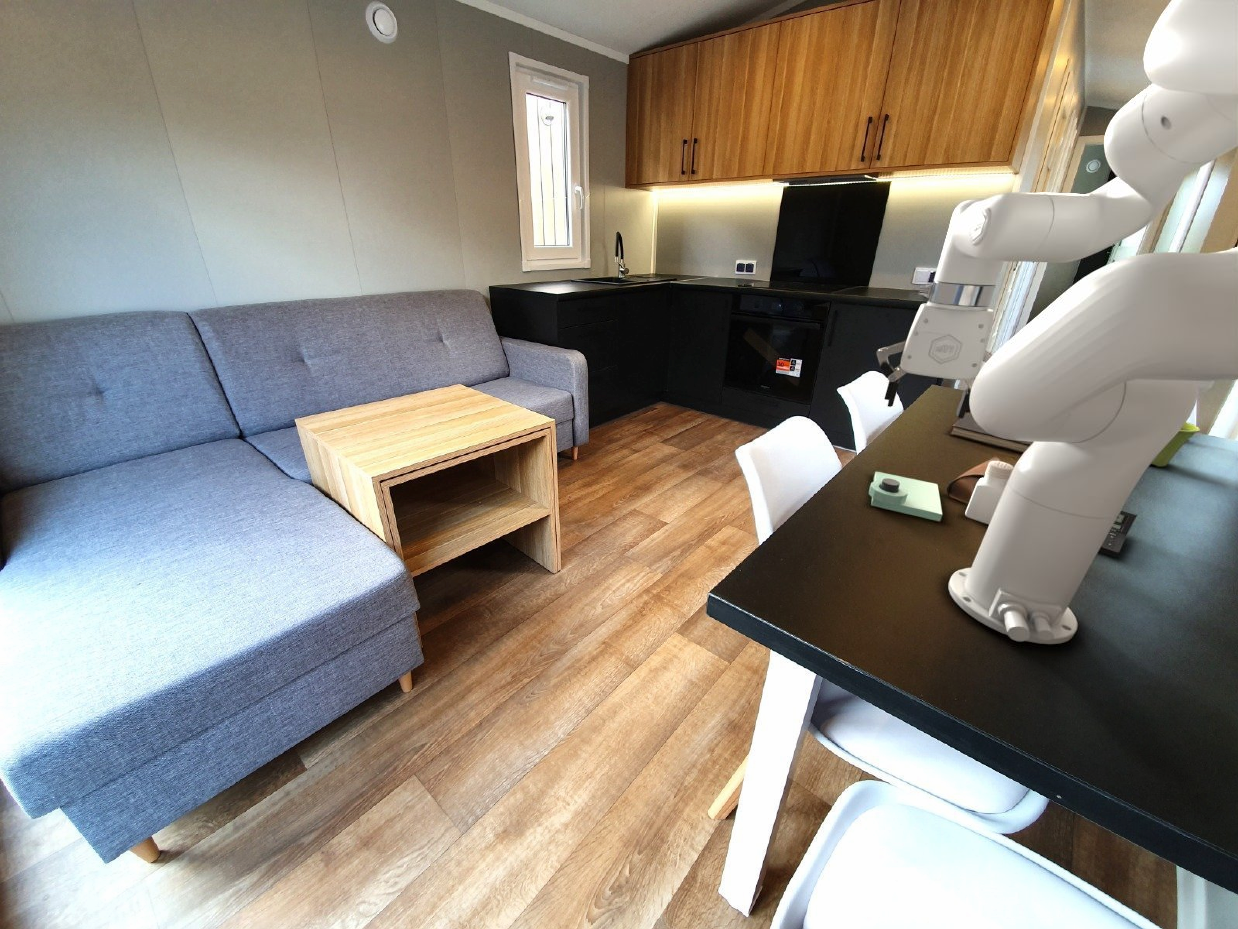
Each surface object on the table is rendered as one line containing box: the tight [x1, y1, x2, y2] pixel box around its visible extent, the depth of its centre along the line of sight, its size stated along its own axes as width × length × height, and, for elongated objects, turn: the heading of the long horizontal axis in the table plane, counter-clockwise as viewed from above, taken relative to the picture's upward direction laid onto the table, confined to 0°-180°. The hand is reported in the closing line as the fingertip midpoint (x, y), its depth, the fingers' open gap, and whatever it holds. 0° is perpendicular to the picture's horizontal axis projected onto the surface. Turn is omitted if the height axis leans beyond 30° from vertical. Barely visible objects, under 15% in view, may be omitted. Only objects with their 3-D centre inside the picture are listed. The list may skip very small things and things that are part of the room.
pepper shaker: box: [964, 460, 1015, 525], centre depth 77 cm, size 4×4×10 cm
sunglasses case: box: [946, 456, 1002, 505], centre depth 87 cm, size 18×7×7 cm, turn 127°
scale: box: [868, 470, 943, 522], centre depth 84 cm, size 13×11×3 cm
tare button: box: [880, 478, 900, 493], centre depth 81 cm, size 3×3×2 cm
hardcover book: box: [949, 411, 1034, 455], centre depth 115 cm, size 16×23×2 cm
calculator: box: [1098, 510, 1137, 558], centre depth 76 cm, size 9×12×3 cm
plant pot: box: [1150, 421, 1201, 467], centre depth 101 cm, size 9×9×9 cm
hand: (923, 410), depth 77 cm, fingers open, 9 cm apart
